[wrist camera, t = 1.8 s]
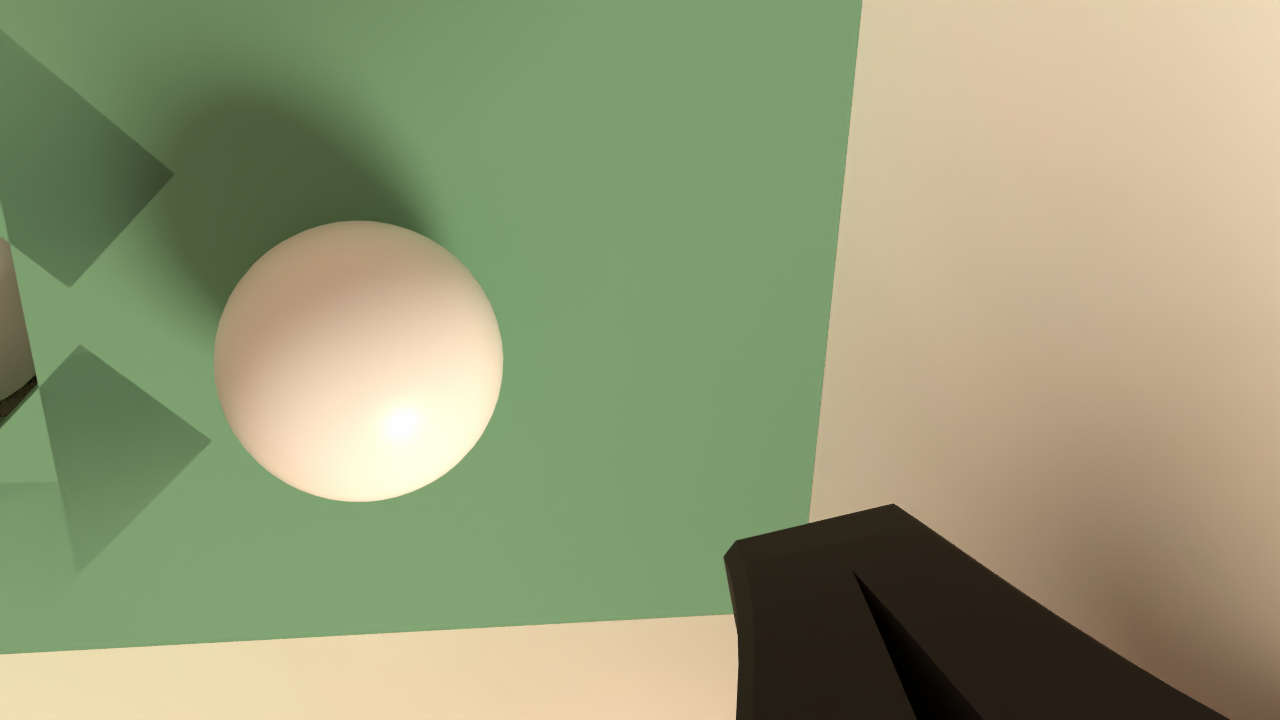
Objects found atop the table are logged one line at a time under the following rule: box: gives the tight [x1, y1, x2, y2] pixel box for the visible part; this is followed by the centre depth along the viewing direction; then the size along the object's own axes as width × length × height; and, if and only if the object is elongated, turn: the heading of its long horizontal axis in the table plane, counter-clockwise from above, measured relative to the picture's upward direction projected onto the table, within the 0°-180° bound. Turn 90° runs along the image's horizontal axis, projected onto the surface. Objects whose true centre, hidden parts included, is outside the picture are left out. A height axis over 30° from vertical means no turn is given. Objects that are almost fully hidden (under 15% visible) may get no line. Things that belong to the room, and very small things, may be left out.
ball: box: [214, 221, 503, 502], centre depth 13 cm, size 3×3×3 cm
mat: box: [0, 0, 862, 654], centre depth 15 cm, size 17×10×2 cm, turn 88°
